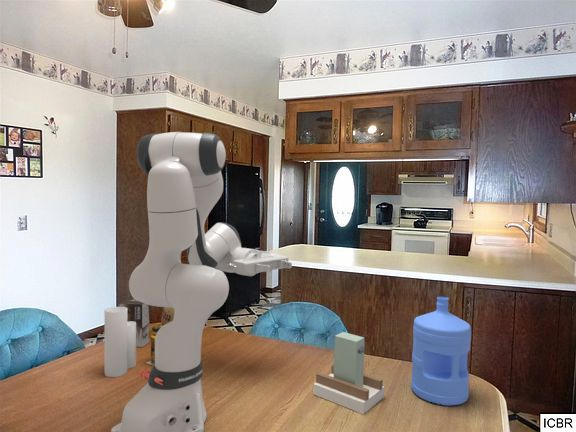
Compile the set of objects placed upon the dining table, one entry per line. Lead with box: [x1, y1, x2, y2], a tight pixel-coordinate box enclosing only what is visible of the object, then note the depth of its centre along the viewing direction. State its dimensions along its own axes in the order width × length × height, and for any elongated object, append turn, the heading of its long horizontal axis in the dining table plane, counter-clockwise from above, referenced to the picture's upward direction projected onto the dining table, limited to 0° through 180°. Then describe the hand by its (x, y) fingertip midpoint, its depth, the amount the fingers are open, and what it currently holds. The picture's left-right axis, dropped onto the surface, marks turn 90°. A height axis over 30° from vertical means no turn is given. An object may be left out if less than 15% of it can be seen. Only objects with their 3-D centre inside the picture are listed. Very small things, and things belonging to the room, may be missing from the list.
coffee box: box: [118, 298, 151, 348], centre depth 150 cm, size 9×6×16 cm
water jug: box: [410, 296, 472, 406], centre depth 116 cm, size 16×16×28 cm
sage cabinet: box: [333, 331, 366, 387], centre depth 113 cm, size 4×8×14 cm, turn 51°
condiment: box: [146, 323, 164, 366], centre depth 135 cm, size 7×8×12 cm
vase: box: [103, 306, 137, 378], centre depth 128 cm, size 11×7×20 cm, turn 174°
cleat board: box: [312, 363, 385, 415], centre depth 114 cm, size 12×16×6 cm
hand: (280, 267), depth 123 cm, fingers open, 8 cm apart
